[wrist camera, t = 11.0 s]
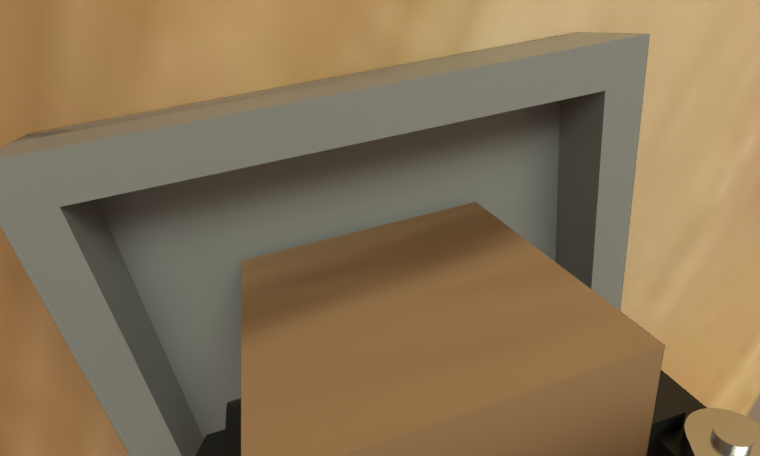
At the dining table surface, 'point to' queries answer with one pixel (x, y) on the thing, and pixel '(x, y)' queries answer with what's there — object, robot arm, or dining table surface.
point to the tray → (307, 202)
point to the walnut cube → (437, 348)
